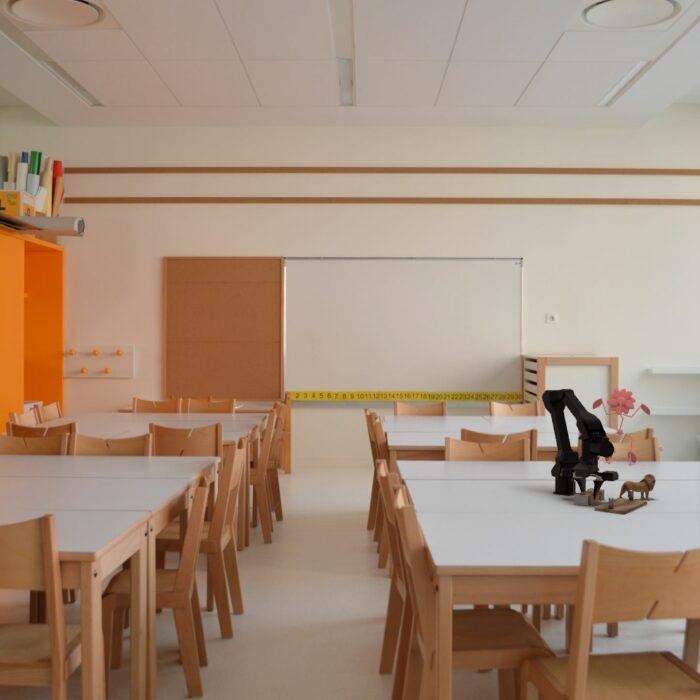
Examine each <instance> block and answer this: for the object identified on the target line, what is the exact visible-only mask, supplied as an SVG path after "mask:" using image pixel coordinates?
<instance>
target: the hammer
mask: <svg viewBox="0 0 700 700" xmlns="http://www.w3.org/2000/svg"><path fill="white" fill-rule="evenodd" d="M593 493H594V487H589V488H586V491H584V492H581V491H580V492H576V493H575V494H573V505H578V506H584V507H585V506H586V507H589V506H591V505H592V504H594V503H596V502H599V500H600V502H602V501H604V500H605V489H601V488H600V490H599V492H598V495H597V497H596V499H594V497H593Z"/></svg>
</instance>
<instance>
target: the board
mask: <svg viewBox="0 0 700 700" xmlns="http://www.w3.org/2000/svg"><path fill="white" fill-rule="evenodd" d="M634 492H635V491H634V490H629V498H624V497H623V498H619V497H616V498H614V497H608V501H606V502H605V503H602V504H600V505H597V506H594V509H593V510H594V511H597V512H603V513H611V514H617V515H624V516H625V515H627V514H629V513H631V512H633V511H635V510H638V509H640V508H642V507H644V506H646V505H648V500H640V499H639V500H638V499H634V497H635V495H634Z"/></svg>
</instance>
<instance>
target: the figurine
mask: <svg viewBox="0 0 700 700" xmlns="http://www.w3.org/2000/svg"><path fill="white" fill-rule="evenodd" d="M612 392H613V393H609V395H608V396H609V399H608V400H606V404H607V405H609V406H610V407H609V410H610V411H611V412H609V413H608V412H607V410H606V407H605V404H604V401H603V398H602V397H601V398H598V399H596V400H595V401H594V402H593V403H592V410H595V409H597V408H599V407H600V406H602V407H603V410H604V412H605V414H606V416H607V415H617V416H618V415H619V417H620V418H621V422H620V426H619V428H618V429H617V431H616V432H615V433H613V434H611V435H610V436H607V437H608V438H609V439H610V438H611V437H613V436H615V435H616V434H617V435H619V436H620V435H625V436H626V437H628V438H630V439H631V442H630V451H628V452H627V458H628V463H629V464H628V465H629V466H631V464H632V463H633V464H636V462H637V460H638V459H637V455H636V454H635V453H634V452H633V451H632V449H633V448H632V446H633V439H632V437H631V436H630V435H628V434H626V433H624V432H623V431H624V430H623V429H621V428H622V426H623V422H624V417H623V416H625V417H628V418H631V419H632V418H633V417H634V416H635V414H636V413H637V412H638V411H639V410H640V409H641V410H642V411H643V412H644V413H645V414H647V415H648V416H650V415H651V410H650V408H649V407H648V406H647V405H646V404H644V403H643V402H642V403H641V404H640V405H639V406H638V408H637V409H636V410H635V411H634V413H632V415H628V414H629V413H630V410H634V409H635V405H634V403H636V399H635V398H634V397H633V396H632V395H633V391H629V390H627V388H622V389H621V390H619V389H618V388H614V389H613V391H612ZM612 411H613V412H612ZM613 455H614V454H613ZM613 455H612V456H610V457H608V458H605V457H604V461H605V462H606V463H608V465H610V464H611V459H612V458H613V457H614V456H613ZM599 460H600V459H599ZM600 461H603V459H601V460H600ZM600 461H599V462H600ZM615 461H618V462H620V461H621V462H623V460H620V459H615ZM643 466H645V465H644V464H643Z"/></svg>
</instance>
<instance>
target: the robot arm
mask: <svg viewBox="0 0 700 700" xmlns="http://www.w3.org/2000/svg"><path fill="white" fill-rule="evenodd" d="M541 399H542V402H543V406H544V409H545V410H547V412H548V413H549V414H550V417H551V423H552V428H553V433H554V439H555V442H556V443H555V444H556V447H557V452H556V456H555V457H554V461H555V463H554V465H553V467H552V468H551V470H550V474H551V477H554V490H553V492H552V493H553V494H556V495H557V494H558V495H562V496H564V495H565V496H572V495H574V494H575V493H577V491H576V490H577V489H576V488H577V485H578V488H579V491H580V493H581V492H584V491H587V479H588V478H589V477H594V478H595V479H593V480H592V482H593V488H594V493H593V497H594V499H596V497H597V495H598V492H599V490H600V489H601V487H602V486H603V484H604V482H616V481H618V480H619V479H620V478H619V473H618V472H617V471H616V470H615V471H614V470H604V471H602V472H601V471H600V467H599V460H600V457H601V458H604V459H605V458H608V457H610V456H612V455H614V453H615V446H614V444H613V443H612V442H611V441H610V437H609V436H607V432H606V430H605V428H604V425H603V423H602V420H600V418H599V417H598V416H596V415H595V414H593V413H591V412H589V411H588V410H587V409H586V407H585V406H584V404H582V402H581V401H580V399H579V398H578V397H577V396H576V394H575V391H574V389H571V388H561V389H546V390H544V392H543V393H542V395H541ZM566 408H567V410H568V411H569V412H570V413H571V414H572V416H573V418H575V426H576V428H577V430H578V432H579V433H580V435H579V436H578V437H577V439H578V440H580V441H581V443H580V446H581V447H580V448H581V450H580V456H579V452H578V451H574V450H573V448H572V444H571V440H570V436H569V430H568V425H567V420H566V416H565V409H566ZM608 437H609V438H608ZM612 457H613V456H612Z"/></svg>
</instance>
